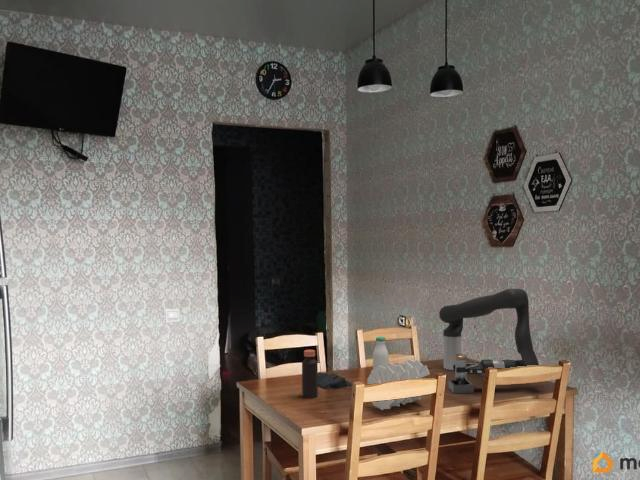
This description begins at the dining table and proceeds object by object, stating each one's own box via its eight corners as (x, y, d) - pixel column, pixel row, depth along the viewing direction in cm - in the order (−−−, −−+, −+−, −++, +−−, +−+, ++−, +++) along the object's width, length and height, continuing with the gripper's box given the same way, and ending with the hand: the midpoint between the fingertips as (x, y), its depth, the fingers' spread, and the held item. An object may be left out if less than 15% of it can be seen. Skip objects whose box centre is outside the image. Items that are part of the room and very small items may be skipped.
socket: (448, 388, 264) (448, 380, 264) (468, 387, 265) (468, 379, 265) (453, 393, 255) (453, 385, 255) (473, 393, 256) (473, 384, 256)
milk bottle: (388, 380, 280) (387, 338, 280) (372, 379, 281) (371, 338, 281) (389, 376, 287) (389, 336, 287) (373, 375, 289) (373, 335, 289)
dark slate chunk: (329, 377, 289) (329, 367, 289) (354, 386, 270) (354, 376, 270) (302, 381, 281) (302, 371, 281) (326, 391, 262) (326, 381, 262)
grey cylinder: (453, 384, 263) (453, 354, 263) (465, 384, 263) (465, 353, 263) (456, 388, 257) (456, 356, 257) (468, 387, 257) (468, 356, 257)
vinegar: (312, 399, 248) (311, 352, 248) (299, 397, 252) (298, 351, 251) (320, 395, 254) (320, 350, 254) (307, 393, 257) (307, 348, 257)
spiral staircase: (369, 418, 234) (409, 403, 250) (398, 408, 222) (438, 393, 238) (353, 375, 239) (393, 362, 256) (381, 363, 227) (421, 351, 243)
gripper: (487, 356, 267) (450, 357, 267) (497, 363, 253) (458, 363, 253) (487, 372, 267) (450, 373, 267) (497, 380, 253) (459, 380, 253)
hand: (455, 368), depth 260 cm, fingers closed on grey cylinder, 4 cm apart
